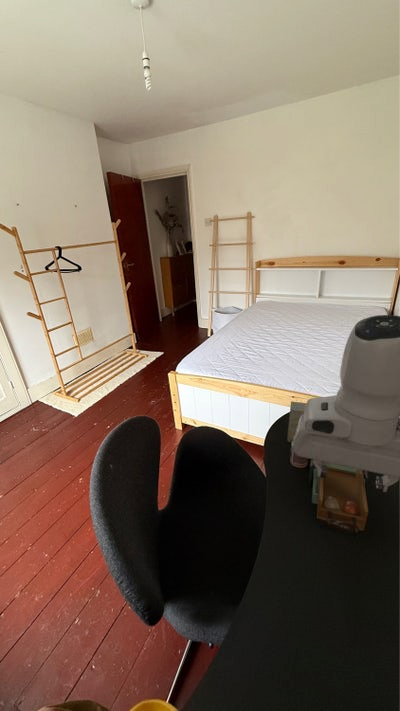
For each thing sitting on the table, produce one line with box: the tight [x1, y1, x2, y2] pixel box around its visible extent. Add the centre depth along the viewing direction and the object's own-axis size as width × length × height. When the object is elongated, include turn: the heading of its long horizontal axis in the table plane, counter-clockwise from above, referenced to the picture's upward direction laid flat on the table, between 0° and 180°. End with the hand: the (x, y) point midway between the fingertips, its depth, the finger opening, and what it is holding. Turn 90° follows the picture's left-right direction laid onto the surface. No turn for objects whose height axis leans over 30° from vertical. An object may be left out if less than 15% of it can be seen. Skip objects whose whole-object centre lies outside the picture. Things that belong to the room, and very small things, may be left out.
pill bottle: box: [289, 436, 310, 469], centre depth 81 cm, size 5×5×8 cm
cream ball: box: [322, 496, 339, 511], centre depth 62 cm, size 3×3×3 cm
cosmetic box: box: [286, 400, 307, 443], centre depth 88 cm, size 6×4×12 cm
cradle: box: [307, 459, 369, 537], centre depth 68 cm, size 12×12×7 cm
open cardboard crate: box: [316, 461, 369, 535], centre depth 63 cm, size 17×9×6 cm, turn 159°
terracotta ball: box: [342, 501, 360, 516], centre depth 60 cm, size 3×3×3 cm
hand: (349, 481), depth 53 cm, fingers open, 8 cm apart
